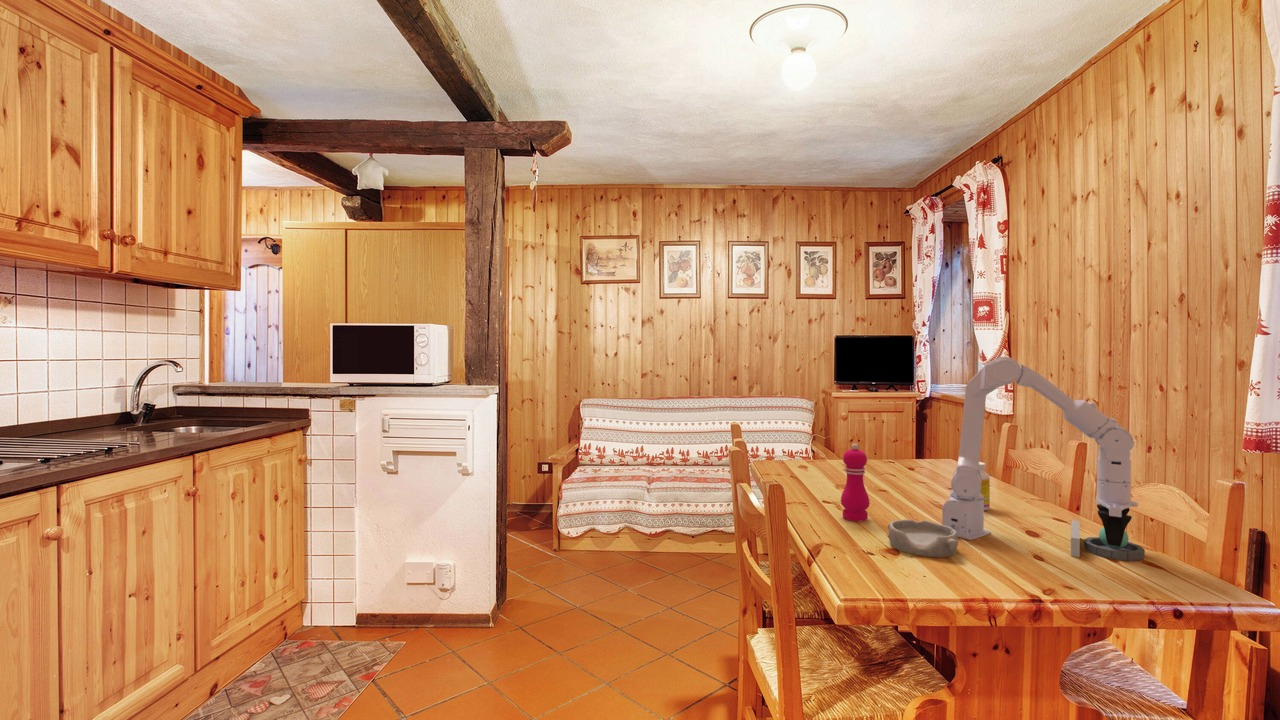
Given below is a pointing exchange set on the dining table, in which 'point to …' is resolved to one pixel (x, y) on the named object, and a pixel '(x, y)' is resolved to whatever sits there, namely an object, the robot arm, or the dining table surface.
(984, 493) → the supplement bottle
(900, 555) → the dining table surface
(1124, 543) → the ball
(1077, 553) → the acrylic wall
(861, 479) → the pepper mill
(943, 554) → the dish
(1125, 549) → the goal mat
